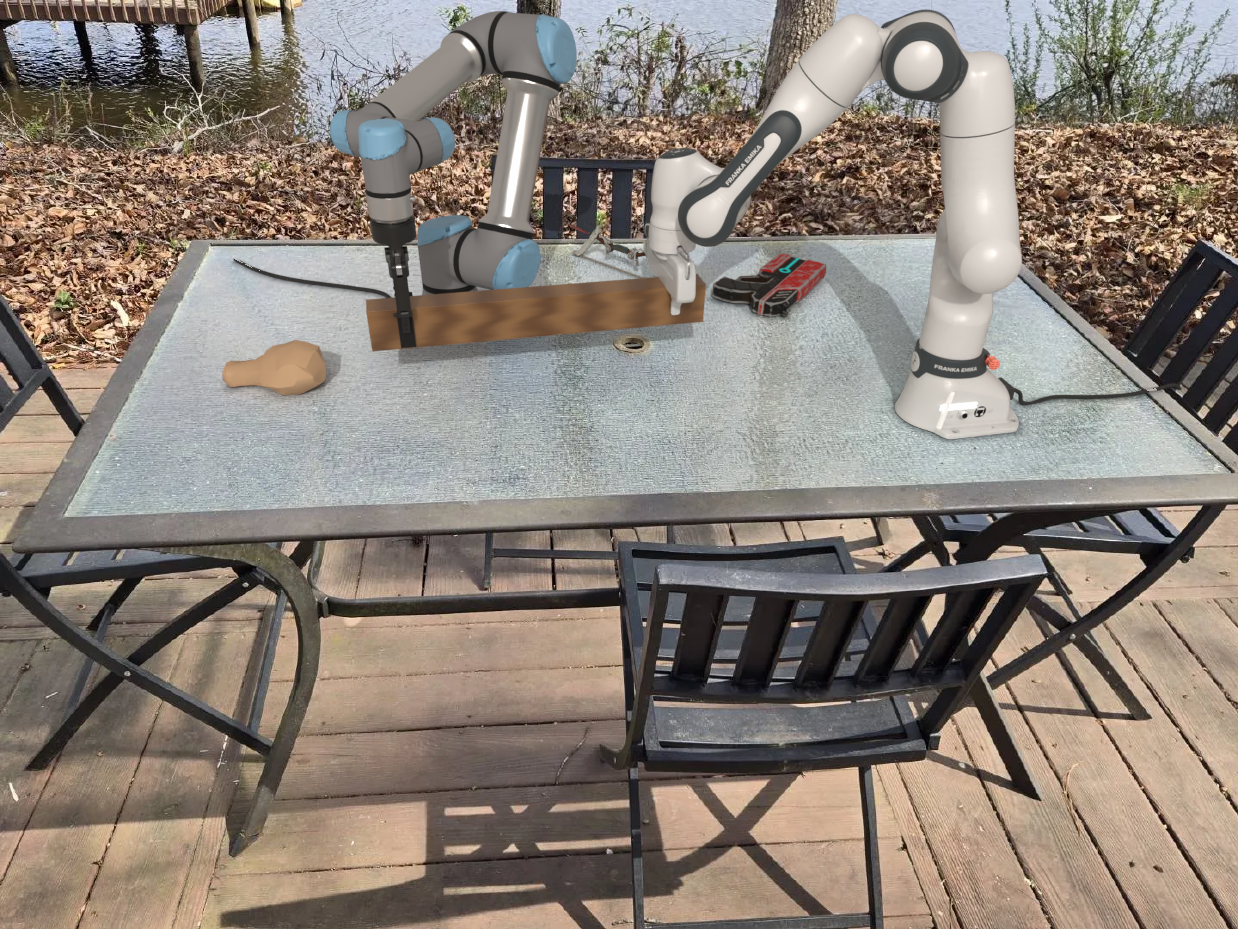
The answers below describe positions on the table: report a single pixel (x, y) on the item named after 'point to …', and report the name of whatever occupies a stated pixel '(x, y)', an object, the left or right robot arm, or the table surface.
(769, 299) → the gun
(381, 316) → the post
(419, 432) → the table surface
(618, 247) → the bow
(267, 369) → the squash
